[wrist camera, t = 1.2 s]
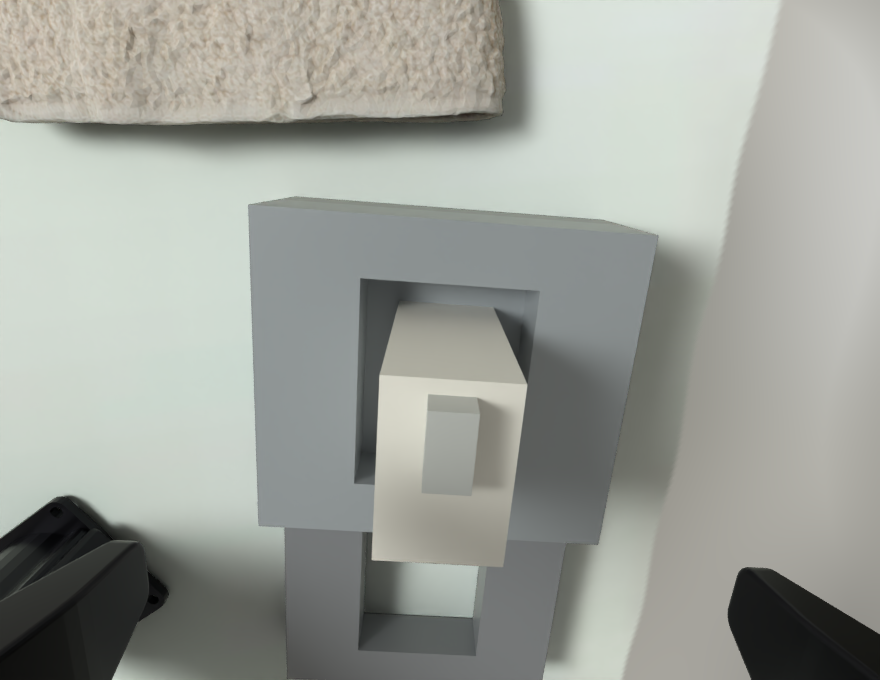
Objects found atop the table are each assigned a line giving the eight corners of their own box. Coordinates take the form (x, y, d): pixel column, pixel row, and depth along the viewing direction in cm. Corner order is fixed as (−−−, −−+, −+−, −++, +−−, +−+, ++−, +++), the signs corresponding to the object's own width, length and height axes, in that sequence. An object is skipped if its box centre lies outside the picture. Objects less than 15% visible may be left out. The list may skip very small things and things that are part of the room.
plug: (479, 433, 18) (507, 593, 11) (392, 428, 18) (366, 586, 11) (493, 307, 17) (534, 400, 10) (399, 300, 17) (375, 390, 10)
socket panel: (532, 651, 25) (555, 763, 20) (298, 639, 25) (266, 751, 20) (602, 219, 19) (658, 235, 14) (295, 196, 19) (248, 204, 14)
